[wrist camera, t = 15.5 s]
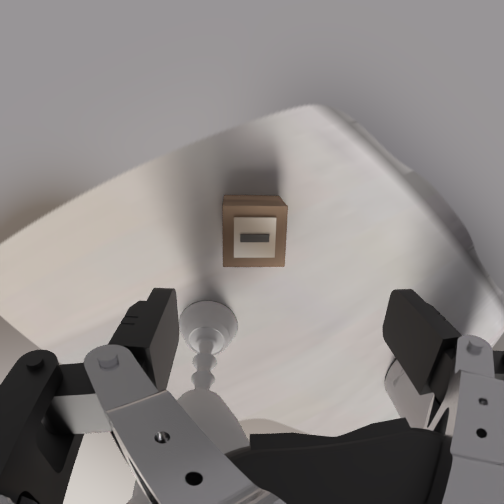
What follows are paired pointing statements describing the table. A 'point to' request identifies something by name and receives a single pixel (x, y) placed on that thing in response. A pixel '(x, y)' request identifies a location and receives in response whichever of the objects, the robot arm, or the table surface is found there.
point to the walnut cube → (254, 231)
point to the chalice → (207, 378)
